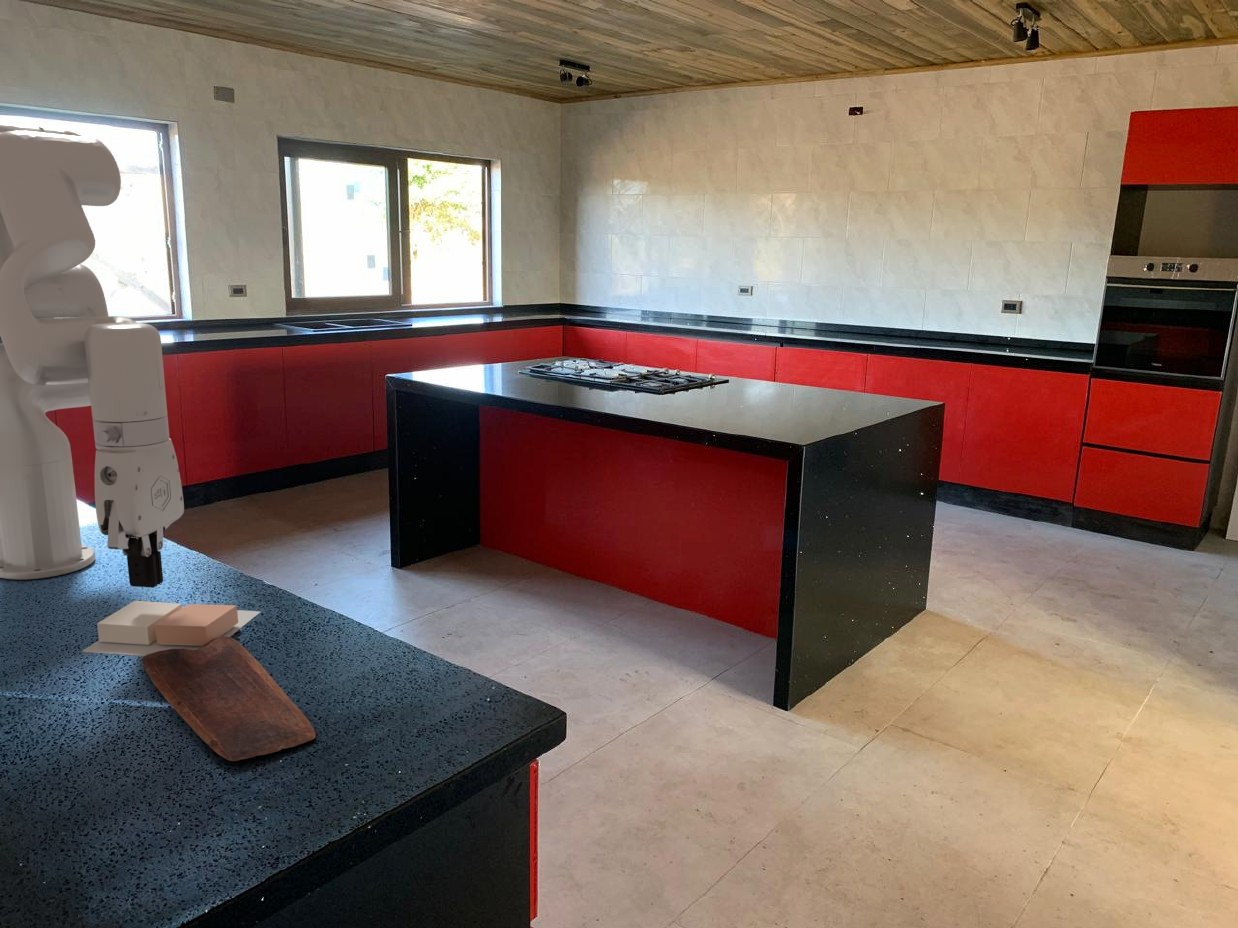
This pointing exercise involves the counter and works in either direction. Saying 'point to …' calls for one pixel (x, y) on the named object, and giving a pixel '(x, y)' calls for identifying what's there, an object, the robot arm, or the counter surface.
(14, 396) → the robot arm
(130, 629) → the cream block
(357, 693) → the counter surface
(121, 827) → the counter surface
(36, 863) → the counter surface
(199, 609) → the salmon pink block
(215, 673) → the wooden tablet
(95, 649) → the grey mat
